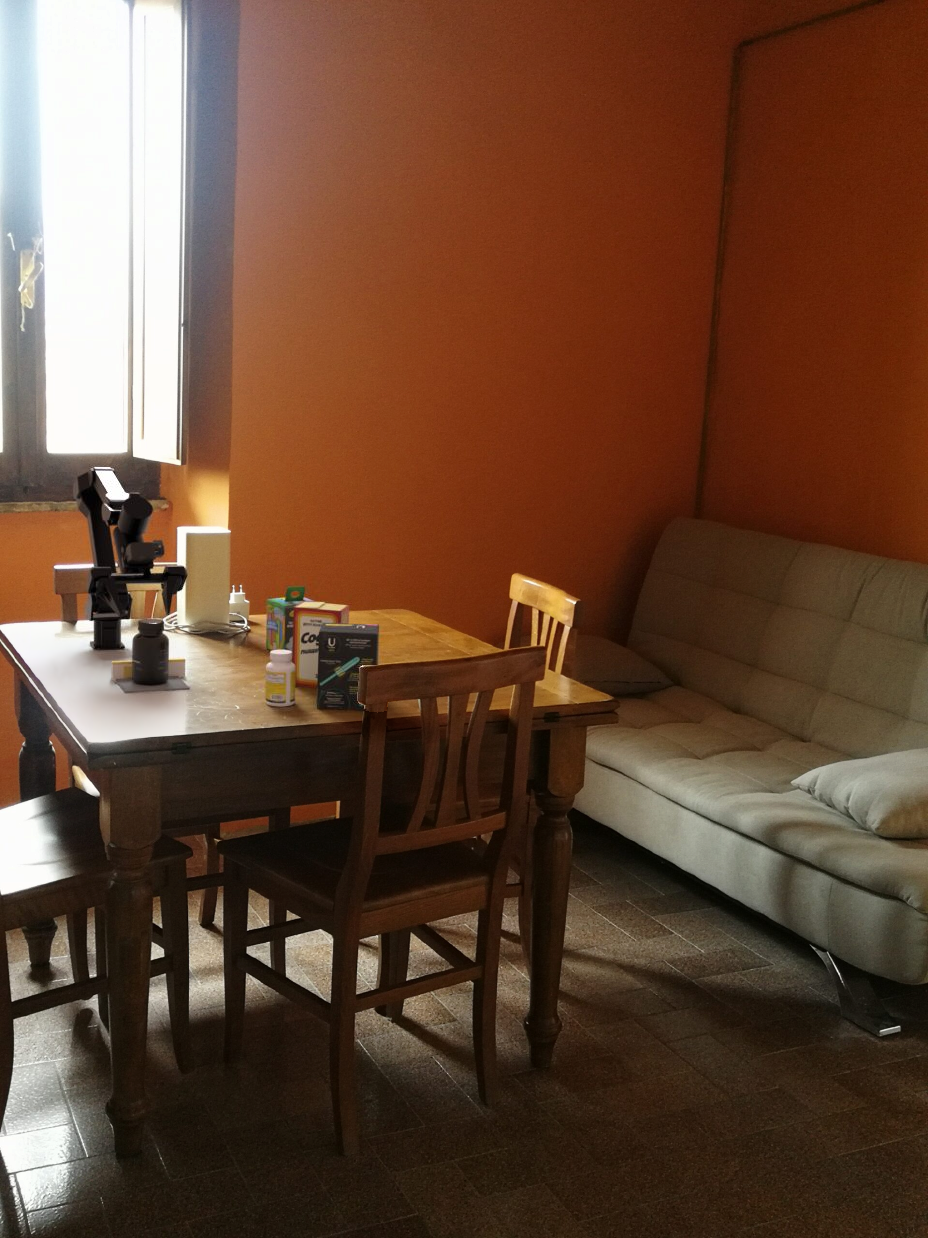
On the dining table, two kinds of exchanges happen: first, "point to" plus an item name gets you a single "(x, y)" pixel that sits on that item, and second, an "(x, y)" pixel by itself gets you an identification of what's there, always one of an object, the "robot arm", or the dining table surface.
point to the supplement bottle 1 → (150, 653)
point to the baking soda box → (312, 636)
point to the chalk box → (282, 619)
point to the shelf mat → (171, 684)
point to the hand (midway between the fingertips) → (145, 614)
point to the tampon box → (344, 662)
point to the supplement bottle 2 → (280, 679)
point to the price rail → (125, 668)
